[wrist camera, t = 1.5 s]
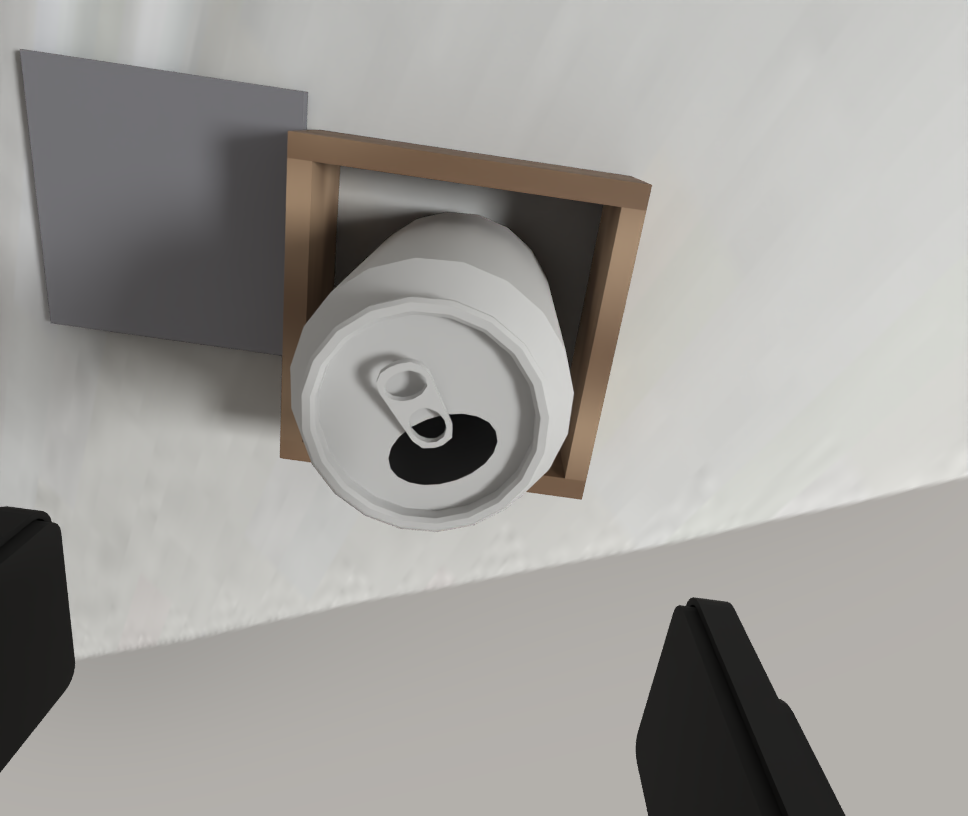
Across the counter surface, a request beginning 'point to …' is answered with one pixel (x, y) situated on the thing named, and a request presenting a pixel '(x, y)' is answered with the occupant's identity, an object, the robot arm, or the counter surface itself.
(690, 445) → the counter surface
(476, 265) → the can
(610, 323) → the walnut box
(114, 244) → the rubber mat
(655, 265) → the counter surface
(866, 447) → the counter surface
